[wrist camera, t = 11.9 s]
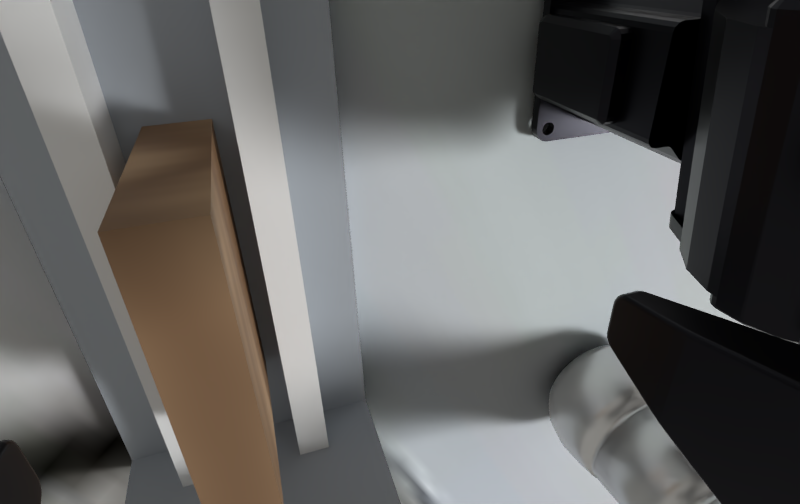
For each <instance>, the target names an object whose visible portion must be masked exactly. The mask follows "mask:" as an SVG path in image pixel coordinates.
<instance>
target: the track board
mask: <svg viewBox="0 0 800 504" xmlns="http://www.w3.org/2000/svg"><path fill="white" fill-rule="evenodd" d="M206 119H212V121H213V126H214V130H215V135H216V139H217V144H218V148H219V153H220V157H221V162H222V167H223V171H224V176H225V180H226V185H227V189H228V194H229V198H230V203H231V207H232V212H233V216H234V221H235V225H236V230H237V234H238V239H239V243H240V248H241V252H242V257H243V261H244V266H245V270H246V275H247V279H248V284H249V288H250V293H251V297H252V302H253V306H254V311H255V315H256V320H257V324H258V329H259V333H260V338H261V342H262V347H263V351H264V356H265V360H266V367H267V375H268V383H269V391H270V399H271V407H272V414H273V422H274V430H275V438H276V446H277V454H278V462H279V470H280V478H281V486H282V494H283V502H284V504H401V503H400V500H399V497H398V494H397V491H396V488H395V485H394V482H393V479H392V476H391V473H390V470H389V467H388V464H387V461H386V459H385V456H384V453H383V450H382V447H381V444H380V441H379V438H378V435H377V432H376V429H375V426H374V423H373V420H372V417H371V414H370V411H369V408H368V405H367V402H366V398H365V387H364V376H363V365H362V355H361V344H360V333H359V322H358V312H357V301H356V290H355V279H354V268H353V258H352V247H351V236H350V225H349V215H348V204H347V193H346V182H345V171H344V161H343V150H342V139H341V128H340V118H339V107H338V96H337V85H336V74H335V64H334V53H333V42H332V31H331V21H330V10H329V0H0V177H1V179H2V181H3V183H4V185H5V187H6V190H7V192H8V194H9V196H10V198H11V200H12V203H13V205H14V207H15V209H16V211H17V213H18V216H19V218H20V220H21V222H22V224H23V226H24V228H25V231H26V233H27V235H28V237H29V239H30V241H31V244H32V246H33V248H34V250H35V252H36V254H37V256H38V259H39V261H40V263H41V265H42V267H43V269H44V272H45V274H46V276H47V278H48V280H49V282H50V284H51V287H52V289H53V291H54V293H55V295H56V297H57V300H58V302H59V304H60V306H61V308H62V310H63V313H64V315H65V317H66V319H67V321H68V323H69V325H70V328H71V330H72V332H73V334H74V336H75V338H76V341H77V343H78V345H79V347H80V349H81V351H82V353H83V356H84V358H85V360H86V362H87V364H88V366H89V369H90V371H91V373H92V375H93V377H94V379H95V382H96V384H97V386H98V388H99V390H100V392H101V394H102V397H103V399H104V401H105V403H106V405H107V407H108V410H109V412H110V414H111V416H112V418H113V420H114V422H115V425H116V427H117V429H118V431H119V433H120V435H121V438H122V440H123V442H124V444H125V446H126V448H127V451H128V453H129V455H130V457H131V459H132V464H131V470H130V476H129V482H128V488H127V495H126V501H125V504H201V502H200V500H199V497H198V494H197V492H196V489H195V487H194V484H193V481H192V479H191V476H190V474H189V471H188V468H187V466H186V463H185V460H184V458H183V455H182V453H181V450H180V447H179V445H178V442H177V439H176V437H175V434H174V432H173V429H172V426H171V424H170V421H169V419H168V416H167V413H166V411H165V408H164V405H163V403H162V400H161V398H160V395H159V392H158V390H157V387H156V385H155V382H154V379H153V377H152V374H151V371H150V369H149V366H148V364H147V361H146V358H145V356H144V353H143V350H142V348H141V345H140V343H139V340H138V337H137V335H136V332H135V330H134V327H133V324H132V322H131V319H130V316H129V314H128V311H127V309H126V306H125V303H124V301H123V298H122V295H121V293H120V290H119V288H118V285H117V282H116V280H115V277H114V275H113V272H112V269H111V267H110V264H109V261H108V259H107V256H106V254H105V251H104V248H103V246H102V243H101V240H100V238H99V235H98V233H97V232H98V230H99V227H100V225H101V222H102V220H103V218H104V215H105V213H106V211H107V208H108V206H109V203H110V201H111V199H112V196H113V194H114V192H115V189H116V187H117V184H118V182H119V180H120V177H121V175H122V173H123V170H124V168H125V165H126V163H127V161H128V158H129V156H130V154H131V151H132V149H133V146H134V144H135V142H136V139H137V137H138V135H139V132H140V130H141V127H143V126H152V125H161V124H170V123H179V122H188V121H197V120H206Z"/></svg>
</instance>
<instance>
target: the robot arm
mask: <svg viewBox="0 0 800 504" xmlns="http://www.w3.org/2000/svg"><path fill="white" fill-rule="evenodd" d="M533 92H534V93H535V99H534V109H533V119H532V133H533V135H534V136H535V137H537V138H538V139H540V140H542V141H552V140H559V139H566V138H573V137H580V136H587V135H594V134H601V133H608V132H612V133H614V134H616V135H618V136H621V137H623V138H625V139H627V140H629V141H632V142H634V143H636V144H638V145H641V146H643V147H645V148H647V149H649V150H652V151H654V152H656V153H658V154H661V155H663V156H665V157H667V158H670V159H672V160H674V161H676V162H678V163H681V168H680V175H679V183H678V190H677V198H676V205H675V210H673V211H672V212H671V216H670V224H669V227H670V229H671V230H672V232H673V233H674V234H675V236H676V237H677V238H678V240H679V241H680V252H681V255H682V258H683V260H684V263H685V266H686V269H687V270H688V271H689V272H690V273H691V274H692V275H693V276H694V278H695V279H696V280H697V281H698V282H699V283H700V284H701V285H702V286H703V287H704V288H705V289H706V290H707V291H708V292H710V293H711V296H710V303H711V304H712V305H713V306H714V307H715V308H716V309H718V310H719V311H721V312H723V313H724V314H726V315H728V316H730V317H731V318H733V319H735V320H737V321H738V322H740V323H742V324H744V325H746V326H748V327H746V326H744V325H741V324H738V323H735V322H732V321H729V320H726V319H723V318H720V317H717V316H714V315H711V314H708V313H705V312H702V311H699V310H697V309H694V308H691V307H688V306H685V305H682V304H679V303H676V302H673V301H670V300H667V299H664V298H661V297H658V296H655V295H652V294H650V293H647V292H643V291H635V292H631V293H627V294H622V295H620V296H618V297H617V298H616V300H615V302H614V305H613V309H612V314H611V318H610V322H609V327H608V331H607V338H608V342H609V345H610V347H611V349H612V350H613V352H614V353H615V355H616V357H617V358H618V360H619V361H620V363H621V365H622V366H623V368H624V369H625V371H626V372H627V374H628V376H629V377H630V379H631V380H632V382H633V384H634V385H635V387H636V388H637V390H638V391H639V393H640V395H641V396H642V398H643V399H644V401H645V403H646V404H647V406H648V407H649V409H650V410H651V412H652V413H653V415H654V416H655V418H656V419H657V421H658V422H659V424H660V425H661V426H662V428H663V429H664V430H665V432H666V433H667V435H668V436H669V437H670V438H671V440H672V441H673V442H674V444H675V445H676V446H677V448H678V449H679V450H680V451H681V453H682V454H683V455H684V457H685V458H686V459H687V461H688V462H689V463H690V464H691V466H692V467H693V468H694V470H695V471H696V472H697V473H698V475H699V476H700V477H701V479H702V480H703V481H704V483H705V484H706V485H707V486H708V488H709V489H710V490H711V492H712V493H713V494H714V496H715V497H716V498H717V499H718V501H719V502H720V503H721V504H800V0H545V2H544V12H543V19H542V20H541V22H540V25H539V35H538V45H537V55H536V65H535V75H534V85H533ZM546 123H548V128H547V130H546V131H544V132H543V131H542V129H543V126H544V125H545V124H546ZM749 327H751V328H749ZM752 328H753V329H752ZM755 329H756V330H755ZM793 342H794V343H793ZM796 343H798V344H796ZM0 504H41V484H40V481H39V479H38V476H37V475H36V473H35V472H34V470H33V468H32V467H31V465H30V464H29V462H28V460H27V459H26V457H25V456H24V454H23V452H22V451H21V449H20V448H19V446H18V445H17V444H16V443H15V442H14V441H11V440H2V441H0Z"/></svg>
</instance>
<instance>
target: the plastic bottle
mask: <svg viewBox="0 0 800 504" xmlns="http://www.w3.org/2000/svg"><path fill="white" fill-rule="evenodd" d="M549 417H550V421H551V423H552V425H553V427H554V429H555V431H556V433H557V435H558V437H559V439H560V441H561V443H562V444H563V446H564V447H565V448H566V449H567V450H568V451H569V453H570V454H571V455H572V456H573V457H574V458H575V459H576V460H577V461H578V462H579V463H580V464H581V465H582V466H583V467H584V468H585V469H586V470H587V471H589V472H590V473H591V474H592V475H593V476H595V477H596V478H598V480H599V481H600V482H601V483H602V485H603V486H604V487H605V488H606V489H607V490H608V492H609V493H610V494H611V495H612V496H613V497H614V498H615V500H616V501H617V502H618V503H619V504H721V503H720V502H719V501H718V499H717V498H716V497H715V496H714V494H713V493H712V492H711V490H710V489H709V488H708V486H707V485H706V484H705V483H704V481H703V480H702V479H701V477H700V476H699V475H698V473H697V472H696V471H695V470H694V468H693V467H692V466H691V464H690V463H689V462H688V461H687V459H686V458H685V457H684V455H683V454H682V453H681V451H680V450H679V449H678V448H677V446H676V445H675V444H674V442H673V441H672V440H671V438H670V437H669V436H668V435H667V433H666V432H665V430H664V429H663V428H662V426H661V425H660V424H659V422H658V421H657V419H656V418H655V416H654V415H653V413H652V412H651V410H650V409H649V407H648V406H647V404H646V403H645V401H644V399H643V398H642V396H641V395H640V393H639V391H638V390H637V388H636V387H635V385H634V384H633V382H632V380H631V379H630V377H629V376H628V374H627V372H626V371H625V369H624V368H623V366H622V365H621V363H620V361H619V360H618V358H617V357H616V355H615V353H614V352H613V350H612V349H611V347H610V345H605V346H600V347H596V348H594V349H591V350H589V351H587V352H585V353H583V354H581V355H580V356H578V357H577V358H575V359H574V360H573V361H572V362H570V363H569V364H568V365H567V366H566V367H565V368H564V369H563V370H562V371H561V373H560V374H559V375H558V377H557V378H556V380H555V381H554V383H553V386H552V388H551V391H550V394H549Z"/></svg>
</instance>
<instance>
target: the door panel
mask: <svg viewBox="0 0 800 504" xmlns="http://www.w3.org/2000/svg"><path fill="white" fill-rule="evenodd" d="M97 233H98V235H99V238H100V240H101V243H102V246H103V248H104V251H105V254H106V256H107V259H108V261H109V264H110V267H111V269H112V272H113V275H114V277H115V280H116V282H117V285H118V288H119V290H120V293H121V295H122V298H123V301H124V303H125V306H126V309H127V311H128V314H129V316H130V319H131V322H132V324H133V327H134V330H135V332H136V335H137V337H138V340H139V343H140V345H141V348H142V350H143V353H144V356H145V358H146V361H147V364H148V366H149V369H150V371H151V374H152V377H153V379H154V382H155V385H156V387H157V390H158V392H159V395H160V398H161V400H162V403H163V405H164V408H165V411H166V413H167V416H168V419H169V421H170V424H171V426H172V429H173V432H174V434H175V437H176V439H177V442H178V445H179V447H180V450H181V453H182V455H183V458H184V460H185V463H186V466H187V468H188V471H189V474H190V476H191V479H192V481H193V484H194V487H195V489H196V492H197V494H198V497H199V500H200V502H201V504H284V502H283V494H282V486H281V478H280V470H279V462H278V454H277V446H276V438H275V430H274V422H273V414H272V407H271V399H270V391H269V383H268V375H267V367H266V360H265V356H264V351H263V347H262V342H261V338H260V333H259V329H258V324H257V320H256V315H255V311H254V306H253V302H252V297H251V293H250V288H249V284H248V279H247V275H246V270H245V266H244V261H243V257H242V252H241V248H240V243H239V239H238V234H237V230H236V225H235V221H234V216H233V212H232V207H231V203H230V198H229V194H228V189H227V185H226V180H225V176H224V171H223V167H222V162H221V157H220V153H219V148H218V144H217V139H216V135H215V130H214V126H213V121H212V119H206V120H197V121H188V122H179V123H170V124H161V125H152V126H143V127H141V130H140V132H139V135H138V137H137V139H136V142H135V144H134V146H133V149H132V151H131V154H130V156H129V158H128V161H127V163H126V165H125V168H124V170H123V173H122V175H121V177H120V180H119V182H118V184H117V187H116V189H115V192H114V194H113V196H112V199H111V201H110V203H109V206H108V208H107V211H106V213H105V215H104V218H103V220H102V222H101V225H100V227H99V230H98V232H97Z"/></svg>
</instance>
